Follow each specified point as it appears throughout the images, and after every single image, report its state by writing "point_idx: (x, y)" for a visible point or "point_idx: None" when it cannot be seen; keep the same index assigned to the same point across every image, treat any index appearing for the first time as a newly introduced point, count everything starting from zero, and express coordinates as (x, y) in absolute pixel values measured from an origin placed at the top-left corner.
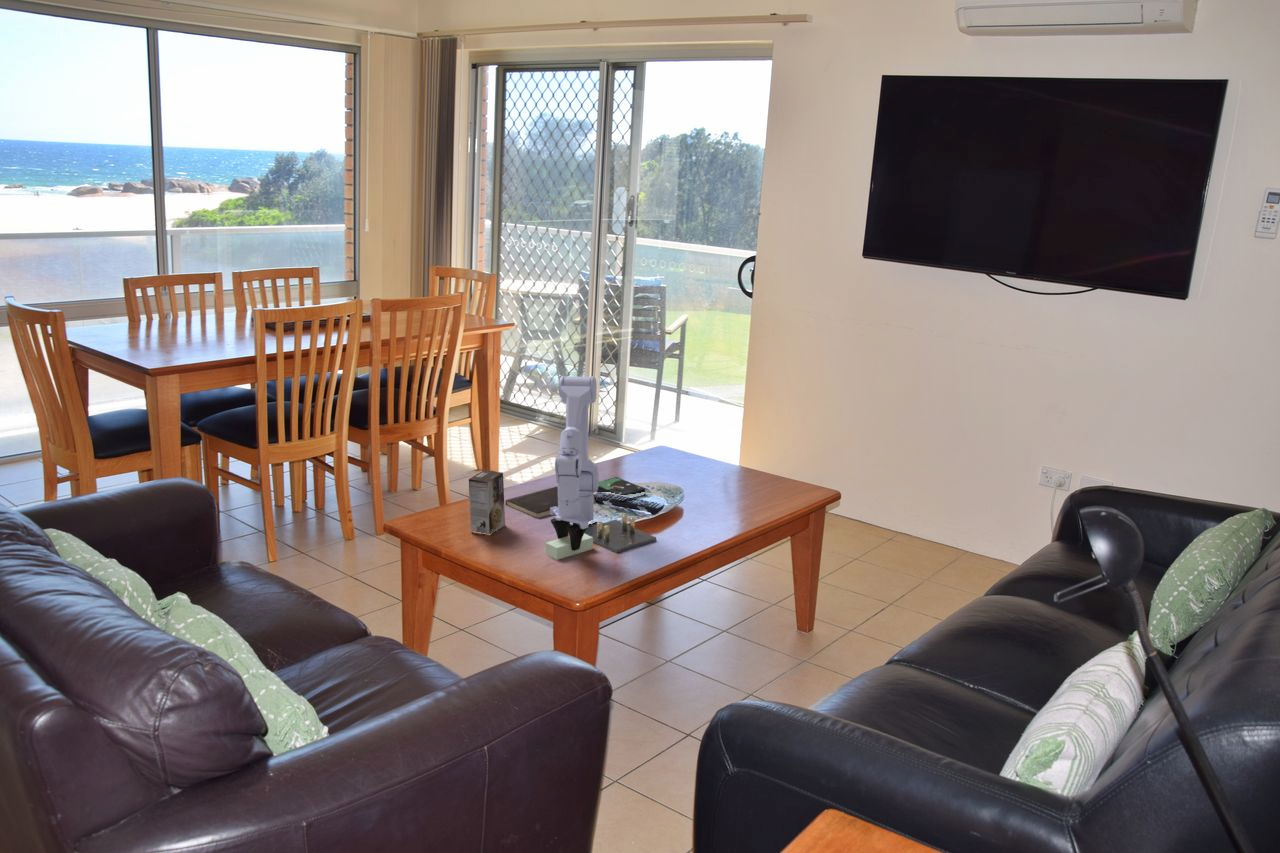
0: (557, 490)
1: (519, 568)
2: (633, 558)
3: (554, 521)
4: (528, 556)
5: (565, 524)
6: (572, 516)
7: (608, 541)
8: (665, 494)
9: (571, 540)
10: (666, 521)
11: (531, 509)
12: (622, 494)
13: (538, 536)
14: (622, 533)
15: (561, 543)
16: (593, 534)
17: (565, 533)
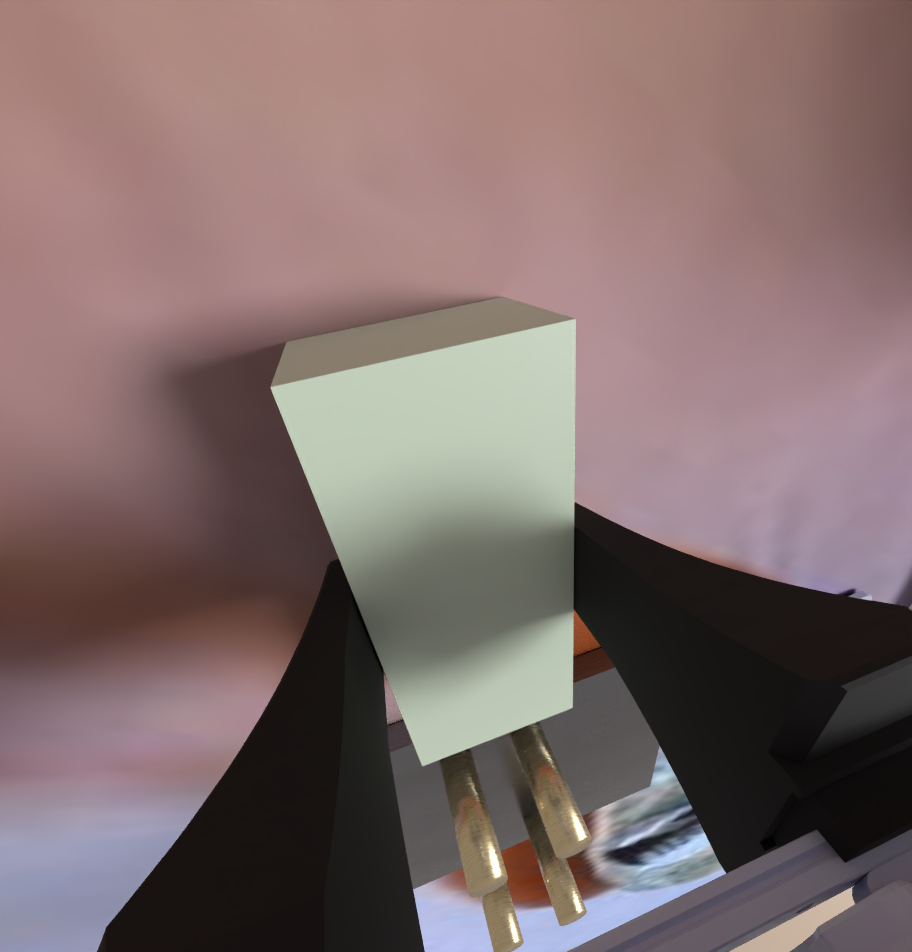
0: None
1: None
2: (114, 844)
3: (848, 697)
4: (564, 20)
5: (678, 725)
6: None
7: (422, 767)
8: (699, 859)
9: (317, 651)
10: (527, 885)
11: None
12: None
13: (830, 407)
14: (490, 814)
15: (422, 507)
16: (572, 710)
17: (598, 617)
